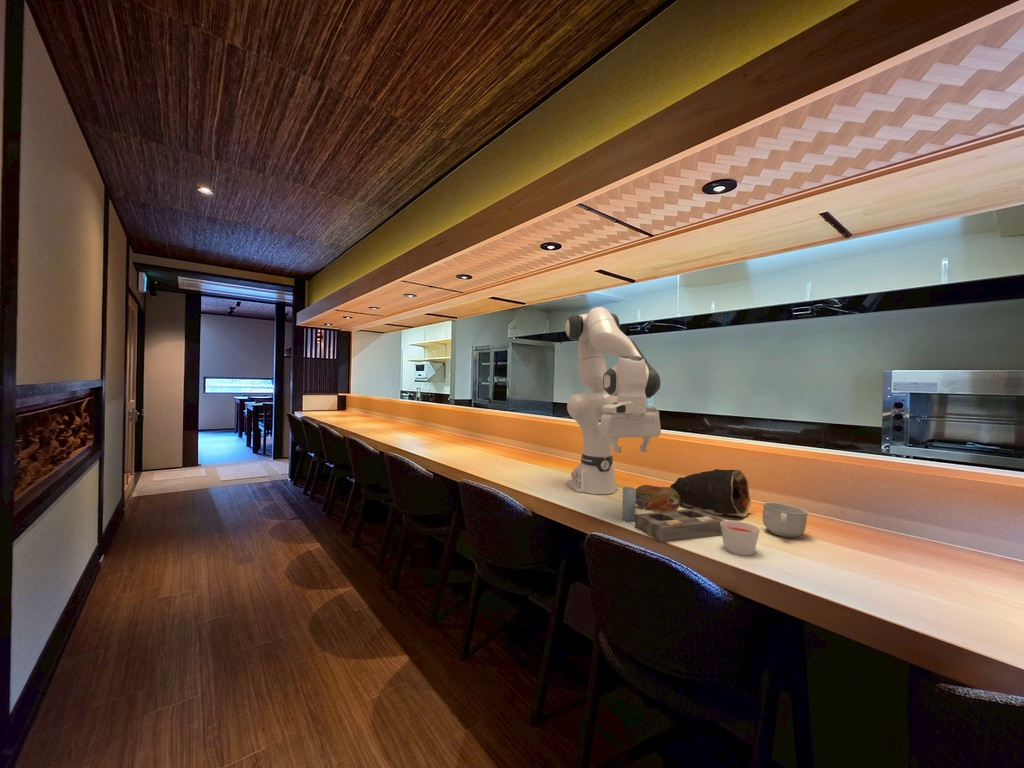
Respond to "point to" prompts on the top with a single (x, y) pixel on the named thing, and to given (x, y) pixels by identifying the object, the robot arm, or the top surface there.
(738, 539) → the candle
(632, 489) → the plug
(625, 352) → the robot arm
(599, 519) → the top surface
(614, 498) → the top surface
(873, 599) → the top surface
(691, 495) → the clay pot
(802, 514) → the teacup
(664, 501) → the tin
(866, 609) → the top surface
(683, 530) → the socket block
